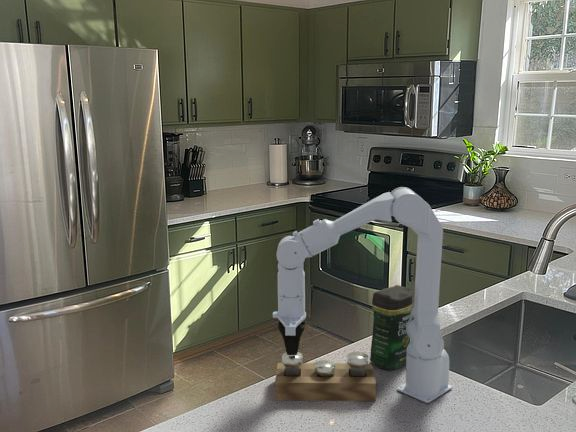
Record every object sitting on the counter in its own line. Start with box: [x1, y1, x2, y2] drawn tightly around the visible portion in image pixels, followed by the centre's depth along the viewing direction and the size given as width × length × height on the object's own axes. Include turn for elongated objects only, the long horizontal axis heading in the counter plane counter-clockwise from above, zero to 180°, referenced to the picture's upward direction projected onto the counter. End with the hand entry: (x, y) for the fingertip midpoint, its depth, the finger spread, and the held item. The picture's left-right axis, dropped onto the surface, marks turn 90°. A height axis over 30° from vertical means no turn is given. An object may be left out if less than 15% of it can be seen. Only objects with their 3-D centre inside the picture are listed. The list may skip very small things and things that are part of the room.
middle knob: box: [314, 359, 335, 377], centre depth 121 cm, size 4×4×6 cm
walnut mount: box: [274, 362, 377, 402], centre depth 121 cm, size 21×9×4 cm, turn 87°
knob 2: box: [346, 351, 369, 377], centre depth 120 cm, size 4×4×6 cm
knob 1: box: [281, 351, 304, 377], centre depth 121 cm, size 4×4×6 cm
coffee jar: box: [369, 284, 414, 371], centre depth 132 cm, size 10×8×19 cm
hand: (292, 353), depth 120 cm, fingers closed
